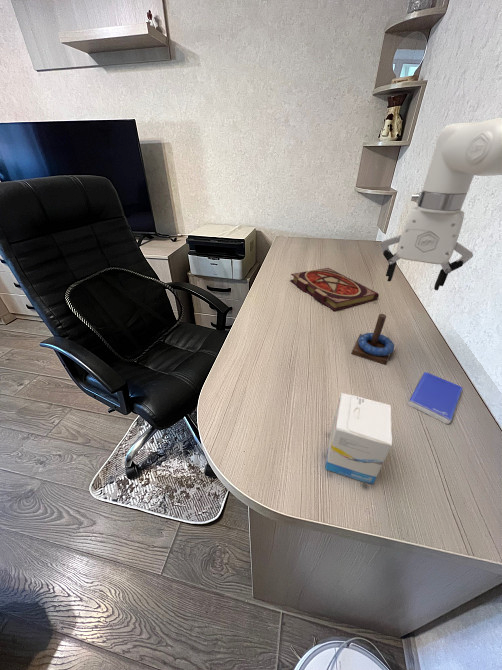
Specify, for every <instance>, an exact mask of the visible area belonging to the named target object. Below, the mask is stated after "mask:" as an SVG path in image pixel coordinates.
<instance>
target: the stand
mask: <svg viewBox="0 0 502 670" xmlns="http://www.w3.org/2000/svg"><path fill="white" fill-rule="evenodd" d="M386 319H387V315H386V314H384V313H379V314H378V316H377V320H376V322H375V323H376V324H375V326H374V330H373V332H372V333H373V336H372V339H371V340H369V341H367V343H368V344H370V345H371V346H374V347H377V348H384V347H385V345H384V344H382V343H381V342H378V341H379V338H380V335H381V334H382V332H383V329H384V325H385V321H386ZM361 335H363V334H362V333H360V334H359V335H358V338H357V340H356V341H355V344H354V346H353V348H352V350H351V355H354V356H356V357H360V358H363V359H366V360H368V361H372V362H376V363H379V364H382V365H385V366H386V365H387V363H388V360H389V357H390V354H389V355H387V356H375V355H372V354H368V353H367V352H365V351H364V350H362V349H361V348H360V346H359V344H358V340H359V338H360V336H361Z"/></svg>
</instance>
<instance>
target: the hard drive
mask: <svg viewBox="0 0 502 670" xmlns="http://www.w3.org/2000/svg"><path fill="white" fill-rule="evenodd" d="M462 391H463V386H461V385H459V384H456V383H454V382H451V381H449V380H447V379H444V378H443V377H442V378H441V377H439V376H437V375H434V374H433V373H430V372H426V371H424V373H423V374H422V376H421V377H420V380H419V381H418V383H417V385H416V387H415V389H414V391H413V392H412V394H411V396H410V398H409V400H408V402H407V405H408V406H410V407H412V408H413V409H416V410H418V411H420V412H422V413H424V414H426V415H428V416H430V417H432V418H434V419H436V420H438V421H440V422H442V423H444V424H447V425H449V424H451V421H452V420H453V418H454V417H453V416H454V414H455V411H456V409H457V405H458V402H459V400H460V397H461V394H462Z"/></svg>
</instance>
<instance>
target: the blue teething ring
mask: <svg viewBox="0 0 502 670" xmlns="http://www.w3.org/2000/svg"><path fill="white" fill-rule="evenodd" d="M373 333H374V332H366V333H363V334H362V335H361V336H360V338H359V340H358V339H357V340H358V344H359V346H360V348H361V349H362V350H364V351H365V352H367V353H368V354H372V355H375V356H387V355H389V356H390V355H391V354H393V353H394V351H395V343H394V342H393V340H392V339H391V338H390V337H388V336H386V335H384V334H382V333H381V335H380V338H379V341H378V342H381V343H382V344H384V345H385V347H384V348H377V347H374V346H371V345H370V344H368V343H367V341H369V340H371V339H372V336H373Z"/></svg>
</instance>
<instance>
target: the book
mask: <svg viewBox="0 0 502 670" xmlns="http://www.w3.org/2000/svg"><path fill="white" fill-rule="evenodd" d="M290 275H291V276H292V277H293V278H292V279H290V280H289V281H290V282H291V283H292V284H294V285H295V286H296V287H297V288H299V289H300V290H302V291H303V292H304V293H307V294H309V295H310V296H312V297H313V299H315V300H316V301H318V302H319V303H320V304H322V305H324V306H327V307H328V308H329V309H331V310H332V311H334V312H336V311H340V310H343V309H344V310H345V309H348V308H351V307H354V306H359V305H362V304H367V303H370V302H374V301H375V302H376V301H377V300H378V299H379V296H380V294H379V292H376V291H374V290H373V289H370V288H369V287H367V286H365V285H364V284H361V283H359V282H357V281H355V280H353V279H351V278H349V277H347V276H346V275H344V274H341V273H340V272H338V271H336V270H334V269H332V268H330V267H323V268H318V269H311V270H307V271H300V272H295V273H294V272H293V273H290Z"/></svg>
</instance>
